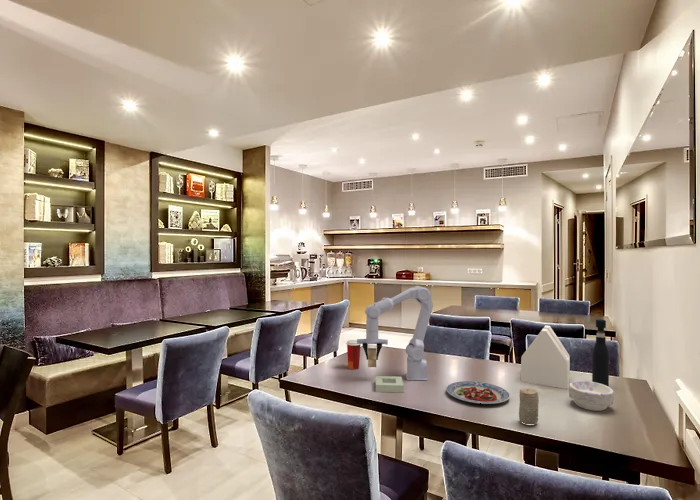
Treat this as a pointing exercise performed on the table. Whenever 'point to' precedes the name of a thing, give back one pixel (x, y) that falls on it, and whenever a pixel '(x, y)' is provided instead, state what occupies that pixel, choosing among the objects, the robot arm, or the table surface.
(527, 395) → the jute twine spool
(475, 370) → the table surface
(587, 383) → the white round bowl
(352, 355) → the paper cup
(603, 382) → the wine bottle
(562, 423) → the table surface
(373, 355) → the maple peg
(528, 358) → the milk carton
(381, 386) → the socket block
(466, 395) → the ceramic plate
